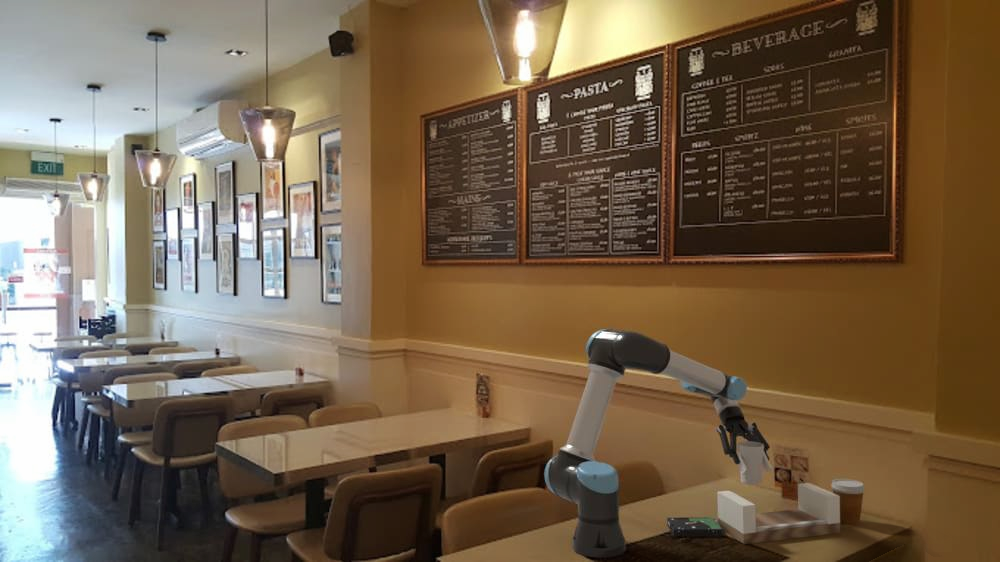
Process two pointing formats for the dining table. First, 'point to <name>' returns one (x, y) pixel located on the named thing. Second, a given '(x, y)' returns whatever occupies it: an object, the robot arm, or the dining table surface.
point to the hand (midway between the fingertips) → (757, 471)
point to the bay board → (782, 527)
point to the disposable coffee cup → (849, 499)
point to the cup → (752, 461)
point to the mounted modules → (809, 501)
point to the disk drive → (694, 527)
